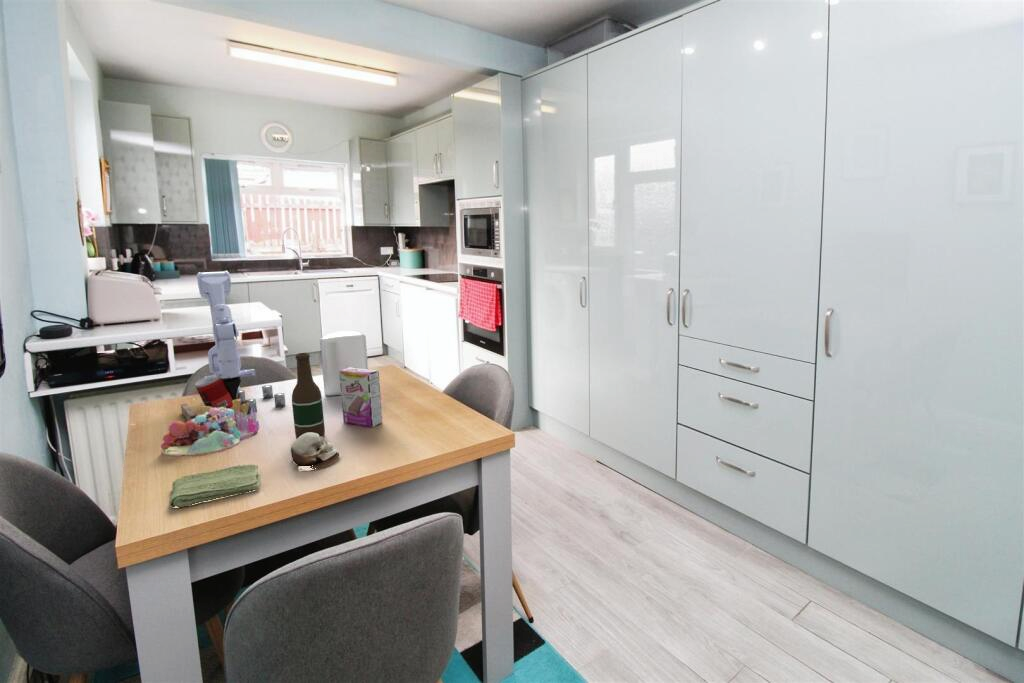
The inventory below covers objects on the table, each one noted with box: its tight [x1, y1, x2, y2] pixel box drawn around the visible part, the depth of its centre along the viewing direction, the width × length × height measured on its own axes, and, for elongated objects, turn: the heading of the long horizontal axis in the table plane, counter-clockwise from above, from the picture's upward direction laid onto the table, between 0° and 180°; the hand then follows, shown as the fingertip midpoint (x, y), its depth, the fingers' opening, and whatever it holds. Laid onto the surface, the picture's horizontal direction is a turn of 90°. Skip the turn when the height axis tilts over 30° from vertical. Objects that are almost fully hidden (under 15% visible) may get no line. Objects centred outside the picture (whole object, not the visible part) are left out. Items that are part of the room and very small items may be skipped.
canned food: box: [194, 373, 233, 409], centre depth 174 cm, size 8×8×11 cm
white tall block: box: [319, 330, 369, 397], centre depth 196 cm, size 15×14×22 cm
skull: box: [290, 432, 340, 471], centre depth 136 cm, size 12×10×10 cm
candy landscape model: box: [160, 399, 260, 457], centre depth 153 cm, size 25×24×9 cm
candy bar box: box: [339, 367, 383, 428], centre depth 161 cm, size 11×5×16 cm, turn 65°
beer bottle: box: [291, 352, 326, 440], centre depth 150 cm, size 8×8×24 cm
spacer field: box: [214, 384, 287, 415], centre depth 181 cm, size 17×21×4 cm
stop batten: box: [180, 403, 197, 421], centre depth 170 cm, size 16×2×3 cm, turn 40°
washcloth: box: [168, 464, 261, 508], centre depth 122 cm, size 13×18×3 cm
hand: (233, 400), depth 178 cm, fingers closed, pressing on canned food
